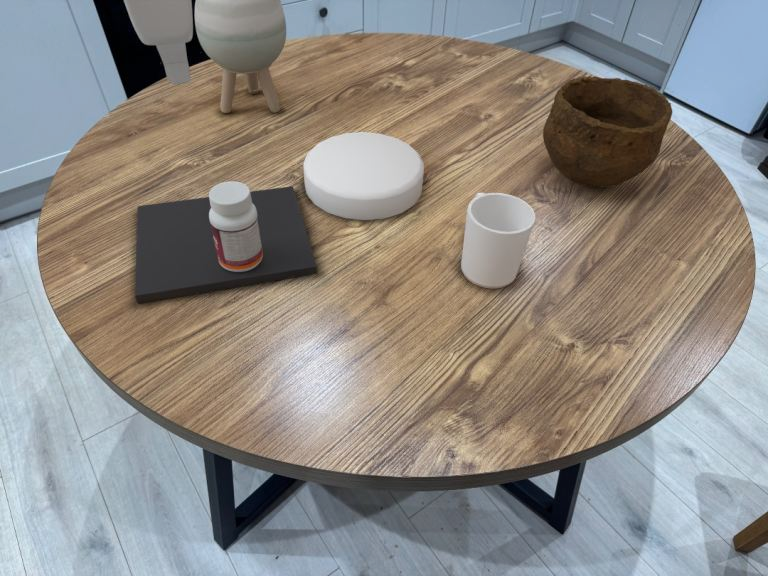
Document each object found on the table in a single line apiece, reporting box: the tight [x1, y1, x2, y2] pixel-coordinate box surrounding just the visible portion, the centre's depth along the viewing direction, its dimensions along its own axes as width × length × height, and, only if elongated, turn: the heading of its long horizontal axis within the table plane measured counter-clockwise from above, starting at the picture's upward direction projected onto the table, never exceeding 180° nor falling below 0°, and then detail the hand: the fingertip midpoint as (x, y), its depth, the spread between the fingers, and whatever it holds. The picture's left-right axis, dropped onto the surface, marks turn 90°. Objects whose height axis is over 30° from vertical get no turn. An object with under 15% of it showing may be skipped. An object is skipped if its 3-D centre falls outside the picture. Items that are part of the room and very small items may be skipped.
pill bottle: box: [208, 180, 263, 272], centre depth 76 cm, size 6×6×11 cm
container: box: [302, 131, 425, 221], centre depth 95 cm, size 20×20×5 cm
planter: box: [194, 0, 287, 114], centre depth 107 cm, size 16×16×22 cm
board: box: [134, 185, 318, 304], centre depth 84 cm, size 24×20×2 cm
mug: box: [460, 192, 536, 290], centre depth 79 cm, size 11×9×10 cm
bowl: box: [542, 75, 673, 188], centre depth 95 cm, size 19×19×15 cm
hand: (178, 56), depth 50 cm, fingers open, 8 cm apart
